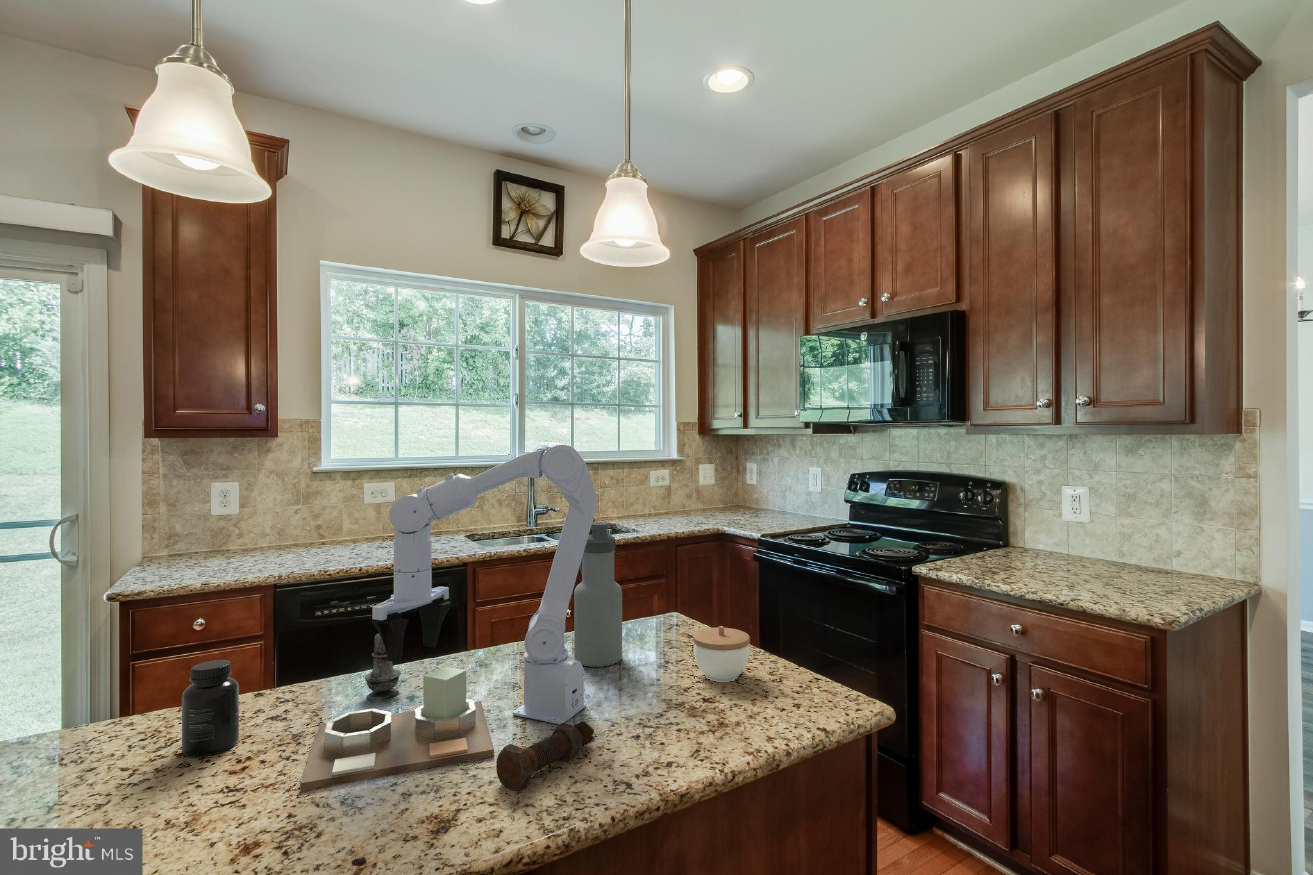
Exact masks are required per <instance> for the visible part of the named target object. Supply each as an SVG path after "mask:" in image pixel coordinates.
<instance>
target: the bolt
mask: <svg viewBox="0 0 1313 875" xmlns="http://www.w3.org/2000/svg"><path fill="white" fill-rule="evenodd" d="M594 735H595V729H594V728H593V727H592V726H591V725H590V724H589V723H587V721H584V720H581V721H579V722H576V723H575V724H571V723H567V722H564V723H561V724H556V727H555V728H554V730H553V731H552V733H551V734H550V736H548V737H545V738H544V739H541V740H540V741H538V742H536V743H535V742H534V743H533V744H531V745H530V746H527V747H524V748H523V747H520V746H518V745H515V744H512V743H509V744H507V745H505V746H503V748H501V750H500V752H499V753H498V756H497V757H496V763H495V764H496V767H495V768H496V770H495V771H496V775H497V779H498V780H499V783H501V785H502V786H503V788H505V789H508V790H509V791H511V792H514V793H520V792H522V791H523V790H524V791H525V789H526V788H527V787H528V785H529V783H530V781H531V779H532V777H533V775H534V774H535V773H536V772H538V771H540V770H541V769H543V768H544V767H547V766H549V765H551V764H553V763H555V762H557V761H558V760H560V759H561V760H564V761H572V760H573V758H574V759H576V758H577V756H578V755H579V754H580V752H581V750H582V748H583V747H585V746H587V745H588V744H591V743H592V742H593V740H594Z"/></svg>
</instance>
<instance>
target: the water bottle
mask: <svg viewBox="0 0 1313 875" xmlns="http://www.w3.org/2000/svg"><path fill="white" fill-rule="evenodd" d="M607 530H609V523H608V522H606V521H592V525H591V528H590V532H589V535H588V539H587V542H586V546H585V549H584V553H583V556H582V560H581V563H580V567H579V571H580V574H581V582H579V584H577V585H576V587H575V588H574V590H573V591H574V594H573V595H574V597H573V599H574V600H573V605H574V607H573V608H574V609H573V610H574V611H573V612H574V613H573V615H574V616H573V617H574V618H573V619H574V620H573V622H574V624H573V627H574V628H573V630H574V632H573V634H574V635H573V636H574V637H573V638H574V639H573V640H574V644H573V645H574V647H573V648H574V649H573V650H574V651H573V652H574V658H573V659H574V660H577V661H579V662H581V664H582V666H583V665H584V666H583V667H587V666H589V668H604V666H606V667H609V665H610V666H613V665H616V664H617V663H619V662H620V661H621V660H622V658H623V590H622V587H621V585H620V584H619V583H618V582H617V581H616V580H615V553H616V537H615V536H613V535H612V534H607V533H608V532H607ZM615 663H616V664H615Z"/></svg>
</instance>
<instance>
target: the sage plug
mask: <svg viewBox="0 0 1313 875" xmlns="http://www.w3.org/2000/svg"><path fill="white" fill-rule="evenodd" d="M466 699H467V670H466V669H462V668H455V667H450V666H441V667H440V668H438V669H435V670H434V671H431V672H428V673H426V674H424V675H423V705H424V708H423V717H426V718H430V719H435V720H439V719H445V718H452V717H457V716H459V715H461V714H462V713H464V712H466Z"/></svg>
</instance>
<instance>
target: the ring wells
mask: <svg viewBox="0 0 1313 875" xmlns="http://www.w3.org/2000/svg"><path fill="white" fill-rule="evenodd" d="M474 702H475V701H474V700H473V699H468V698H466V712H464V713H462V714H461V715H459V716H457V717H452V718H445V719H439V720H435V719H430V718H426V717H423V708H424V704H422V705H420V706H417V708H415V710H414V711H415V733H416V735H417V736H421V737H425V738H429V739H433V740H434V739H441V738H447V737H453V736H459V735H461V734H463V733H464V732H466V731H468V730H469V729H471V728H473V727H474V726H475V725H476V709H475V705H474ZM391 714H392V712H391V711H387V710H382V709H378V708H368V709H361V710H353V711H348V712H346V713H344V714H341V715H339V716H337V717H335V718H332V719H331V720H328V721H327V723H326V724H327V726H326V729H325V750H327V751H331V752H334V753H338V754H343V755H344V754H350V753H356V752H362V751H368V750H372V749H374V748H376V747H377V746H379V745H381V744H383V743H385V742H386V741H388V740H390V739H391ZM371 727H372V729H370V730H367V731H361V732H354V733H348V734H345V733H346V732H348V731H351V730H358V729H364V728H371Z"/></svg>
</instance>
